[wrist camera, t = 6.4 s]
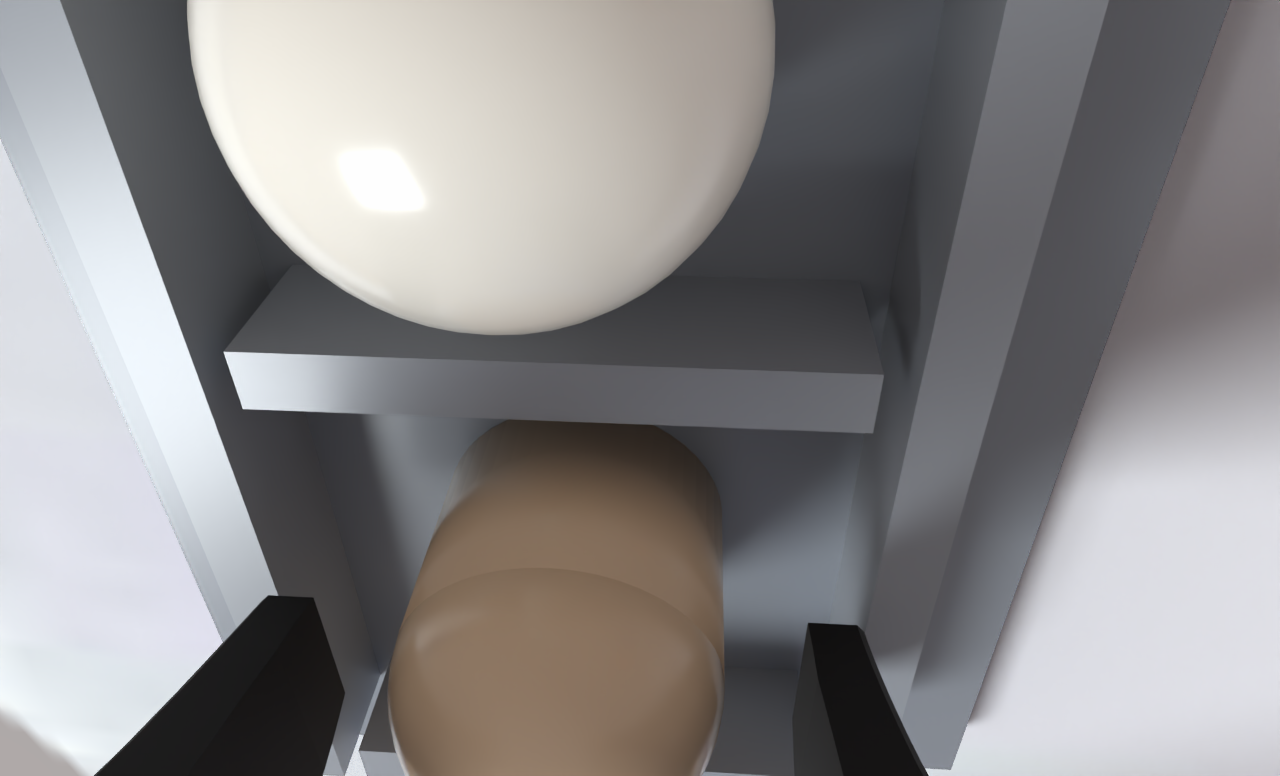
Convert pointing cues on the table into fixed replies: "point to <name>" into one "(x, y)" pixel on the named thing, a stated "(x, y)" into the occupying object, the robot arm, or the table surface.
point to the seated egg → (487, 143)
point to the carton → (651, 336)
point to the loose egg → (566, 610)
